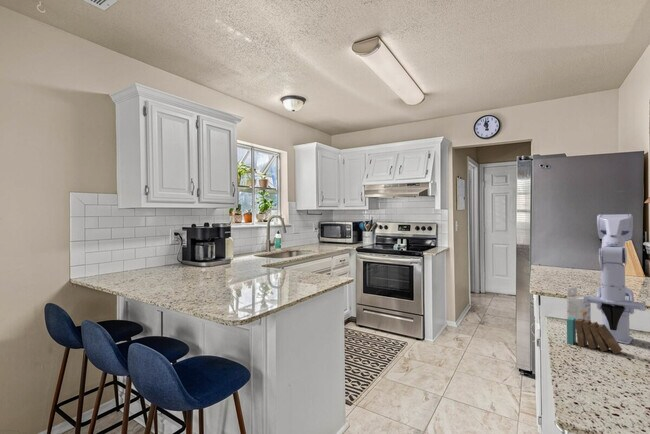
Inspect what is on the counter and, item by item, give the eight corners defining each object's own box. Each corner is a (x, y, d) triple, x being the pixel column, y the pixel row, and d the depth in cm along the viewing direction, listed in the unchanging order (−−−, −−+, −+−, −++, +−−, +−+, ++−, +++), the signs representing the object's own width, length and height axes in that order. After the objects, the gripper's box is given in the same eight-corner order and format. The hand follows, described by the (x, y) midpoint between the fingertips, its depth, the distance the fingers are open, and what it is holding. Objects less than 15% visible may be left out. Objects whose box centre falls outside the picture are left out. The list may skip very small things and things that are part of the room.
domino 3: (589, 348, 108) (581, 322, 109) (592, 345, 110) (584, 320, 112) (595, 348, 106) (587, 322, 108) (598, 345, 109) (590, 320, 111)
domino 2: (578, 345, 110) (575, 320, 111) (581, 343, 112) (578, 318, 113) (584, 346, 109) (581, 321, 109) (587, 344, 111) (584, 319, 112)
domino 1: (567, 343, 112) (566, 319, 112) (570, 340, 115) (570, 317, 115) (572, 344, 111) (572, 320, 111) (575, 341, 114) (575, 318, 114)
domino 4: (601, 351, 105) (588, 325, 108) (604, 348, 108) (591, 322, 111) (607, 350, 104) (593, 324, 107) (610, 347, 107) (596, 321, 109)
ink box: (582, 330, 126) (581, 290, 127) (566, 326, 131) (566, 288, 131) (591, 326, 131) (591, 288, 131) (576, 323, 135) (575, 286, 136)
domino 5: (613, 354, 103) (596, 328, 106) (616, 350, 106) (599, 325, 109) (619, 352, 102) (601, 326, 105) (622, 349, 105) (604, 324, 108)
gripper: (580, 283, 108) (581, 326, 108) (642, 290, 97) (643, 338, 97) (586, 281, 113) (586, 322, 112) (646, 287, 102) (646, 333, 101)
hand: (613, 329), depth 105 cm, fingers closed
